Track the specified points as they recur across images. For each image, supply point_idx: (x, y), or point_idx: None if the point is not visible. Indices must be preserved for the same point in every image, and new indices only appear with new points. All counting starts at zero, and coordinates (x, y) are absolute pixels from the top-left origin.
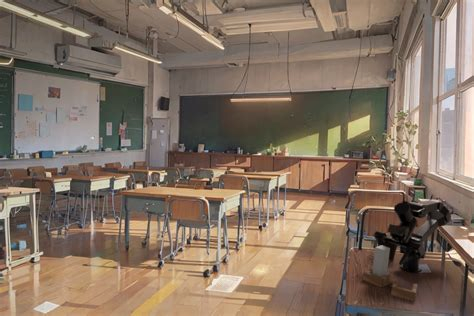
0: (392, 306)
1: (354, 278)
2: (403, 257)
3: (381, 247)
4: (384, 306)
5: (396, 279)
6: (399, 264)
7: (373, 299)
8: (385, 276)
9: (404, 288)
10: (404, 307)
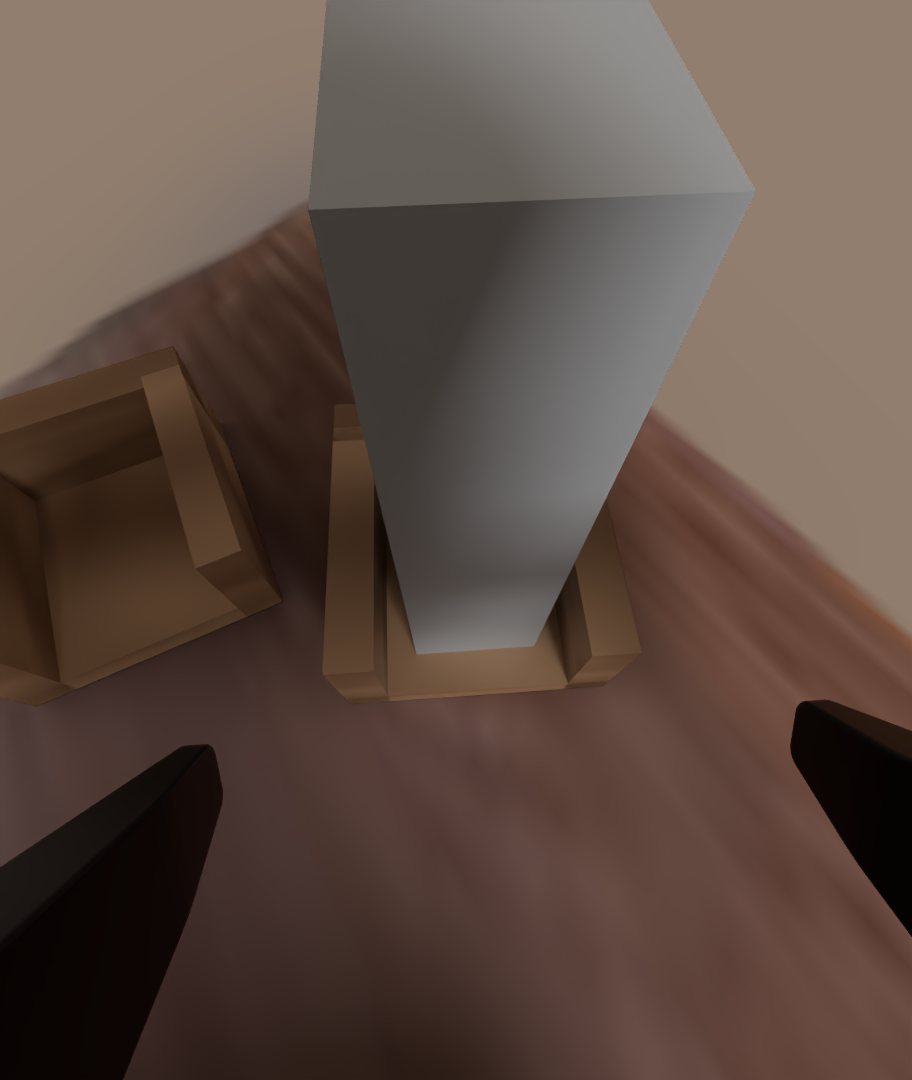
0: (147, 319)
1: (651, 457)
2: (5, 894)
3: (533, 50)
4: (191, 281)
5: (216, 555)
6: (209, 762)
7: (295, 297)
8: (360, 510)
9: (51, 417)
10: (68, 373)
